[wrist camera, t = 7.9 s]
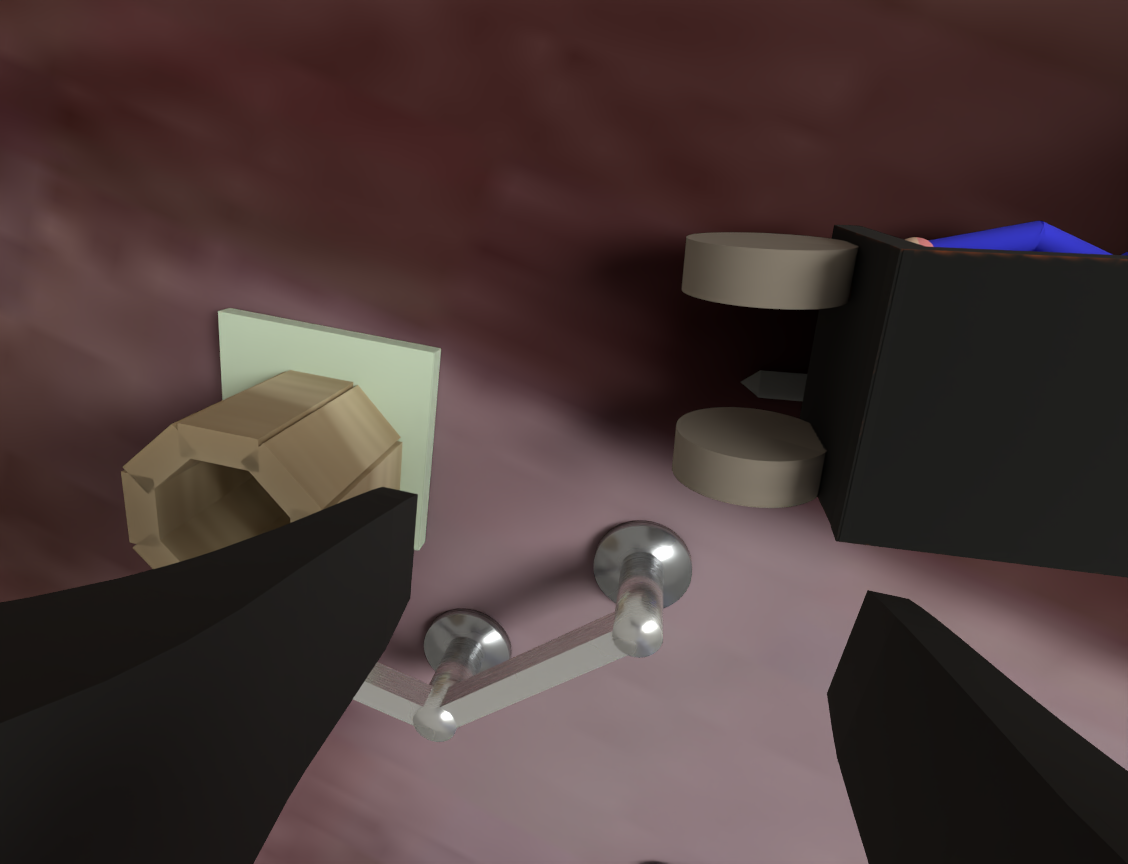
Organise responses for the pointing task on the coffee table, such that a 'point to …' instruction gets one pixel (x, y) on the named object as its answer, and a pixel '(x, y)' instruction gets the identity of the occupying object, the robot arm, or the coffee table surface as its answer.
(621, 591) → the grey piece
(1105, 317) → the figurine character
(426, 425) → the pad
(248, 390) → the maple ring
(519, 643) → the coffee table surface
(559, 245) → the coffee table surface
